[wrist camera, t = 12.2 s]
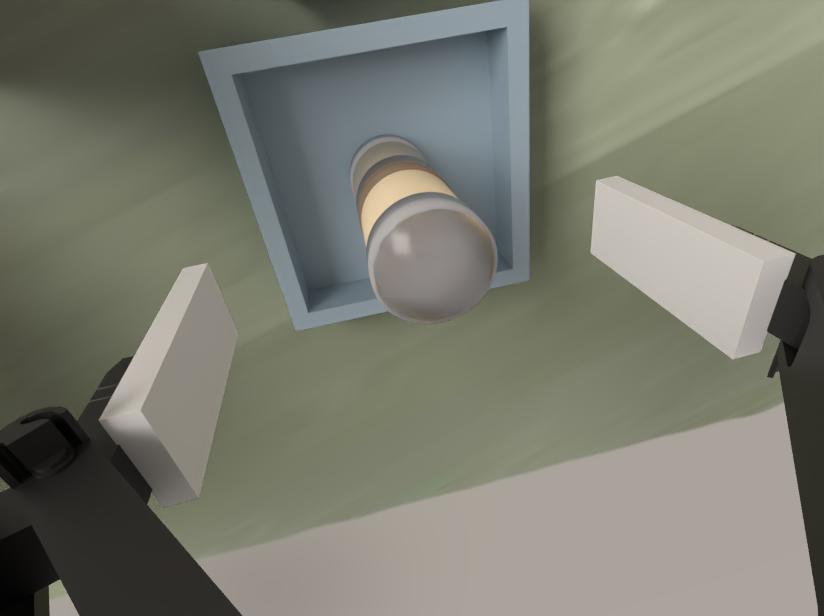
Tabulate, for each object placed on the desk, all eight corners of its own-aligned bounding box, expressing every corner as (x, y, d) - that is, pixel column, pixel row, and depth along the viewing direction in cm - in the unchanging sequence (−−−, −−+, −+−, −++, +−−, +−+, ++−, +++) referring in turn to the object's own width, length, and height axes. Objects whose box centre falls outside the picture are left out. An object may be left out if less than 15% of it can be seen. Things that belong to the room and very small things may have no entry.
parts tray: (298, 301, 28) (295, 331, 25) (215, 50, 21) (197, 51, 18) (508, 256, 29) (529, 280, 26) (500, 1, 22) (529, -5, 19)
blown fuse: (358, 218, 25) (382, 335, 15) (341, 142, 23) (357, 220, 13) (429, 203, 26) (499, 309, 16) (419, 127, 23) (495, 192, 13)
